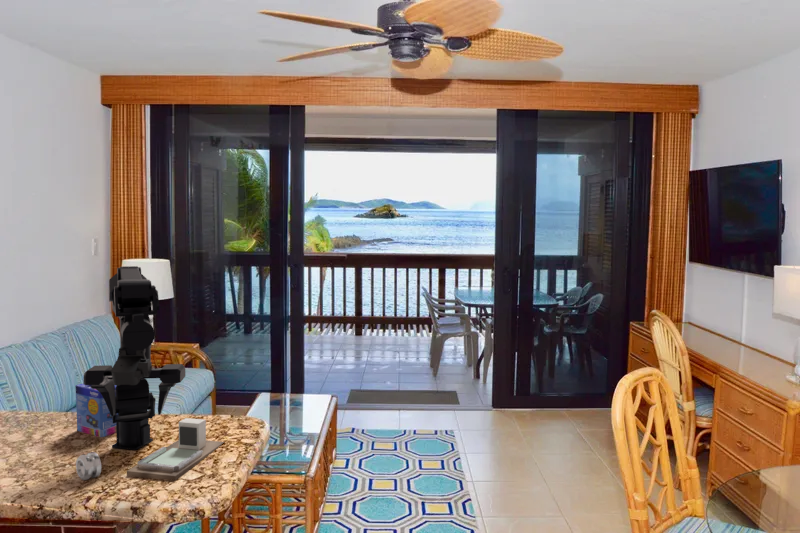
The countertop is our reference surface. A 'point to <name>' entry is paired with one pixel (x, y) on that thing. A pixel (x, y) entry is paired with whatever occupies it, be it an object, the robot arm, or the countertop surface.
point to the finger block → (192, 433)
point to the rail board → (174, 461)
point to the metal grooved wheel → (88, 466)
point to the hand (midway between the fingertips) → (136, 414)
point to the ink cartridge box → (93, 412)
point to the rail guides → (162, 467)
